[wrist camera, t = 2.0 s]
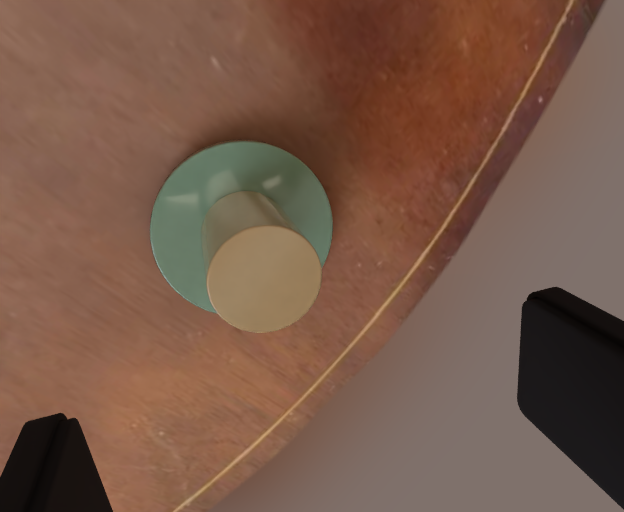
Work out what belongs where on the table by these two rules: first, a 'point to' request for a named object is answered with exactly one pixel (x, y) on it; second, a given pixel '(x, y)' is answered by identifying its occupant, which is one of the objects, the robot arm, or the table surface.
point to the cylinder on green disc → (243, 233)
